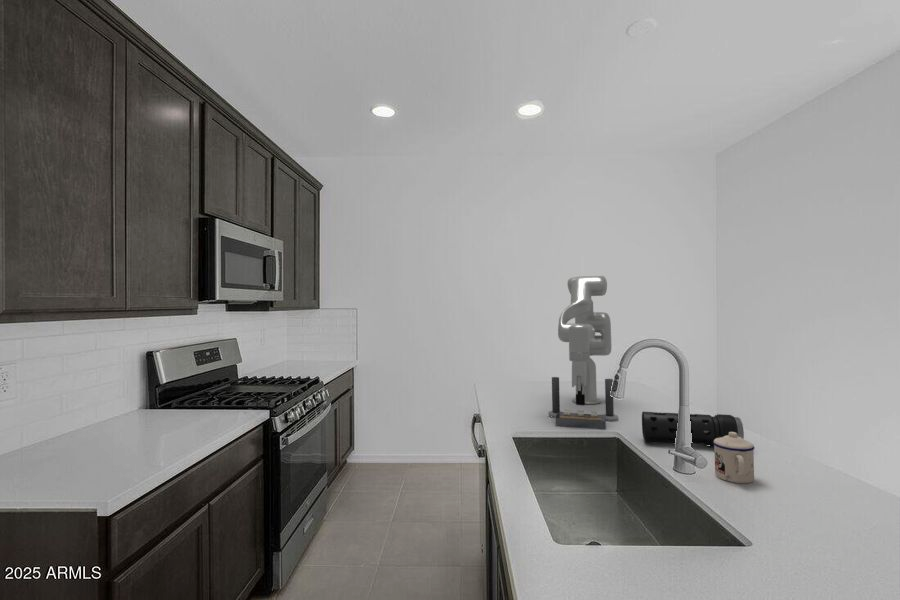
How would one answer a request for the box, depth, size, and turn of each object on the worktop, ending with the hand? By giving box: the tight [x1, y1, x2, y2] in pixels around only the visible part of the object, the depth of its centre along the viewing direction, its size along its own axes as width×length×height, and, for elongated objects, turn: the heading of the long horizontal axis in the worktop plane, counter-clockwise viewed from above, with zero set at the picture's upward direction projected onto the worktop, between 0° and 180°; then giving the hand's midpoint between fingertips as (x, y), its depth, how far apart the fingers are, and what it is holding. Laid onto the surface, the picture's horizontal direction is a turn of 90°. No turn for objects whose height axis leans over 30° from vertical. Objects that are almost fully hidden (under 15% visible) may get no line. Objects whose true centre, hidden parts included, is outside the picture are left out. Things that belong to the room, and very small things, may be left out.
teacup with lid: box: [713, 432, 755, 484], centre depth 115 cm, size 12×9×12 cm
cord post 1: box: [547, 376, 564, 418], centre depth 186 cm, size 6×6×16 cm
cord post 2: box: [601, 378, 619, 422], centre depth 179 cm, size 6×6×16 cm
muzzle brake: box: [641, 411, 745, 446], centre depth 145 cm, size 10×28×10 cm, turn 72°
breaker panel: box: [554, 409, 607, 430], centre depth 172 cm, size 10×18×5 cm, turn 70°
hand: (580, 404), depth 172 cm, fingers closed
